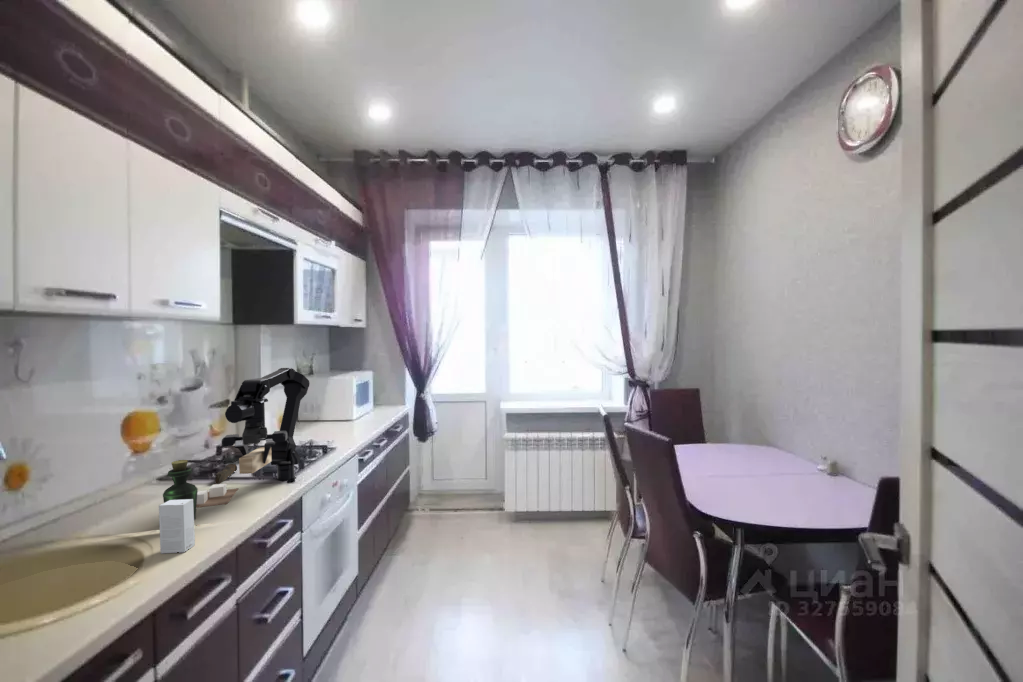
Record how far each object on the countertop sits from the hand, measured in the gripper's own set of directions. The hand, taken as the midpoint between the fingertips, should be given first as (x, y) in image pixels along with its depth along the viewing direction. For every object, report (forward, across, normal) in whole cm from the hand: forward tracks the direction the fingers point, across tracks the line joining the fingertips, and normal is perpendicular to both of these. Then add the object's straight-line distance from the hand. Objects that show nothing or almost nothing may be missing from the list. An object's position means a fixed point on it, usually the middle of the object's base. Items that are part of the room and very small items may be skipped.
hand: (256, 464), depth 156 cm
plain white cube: (+10, -12, +3) cm, 16 cm away
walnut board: (+11, -14, 0) cm, 18 cm away
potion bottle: (+11, -16, -19) cm, 27 cm away
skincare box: (+11, -12, -37) cm, 40 cm away
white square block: (+10, -16, -3) cm, 19 cm away
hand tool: (+11, -14, +25) cm, 31 cm away
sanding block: (+1, 0, 0) cm, 1 cm away
